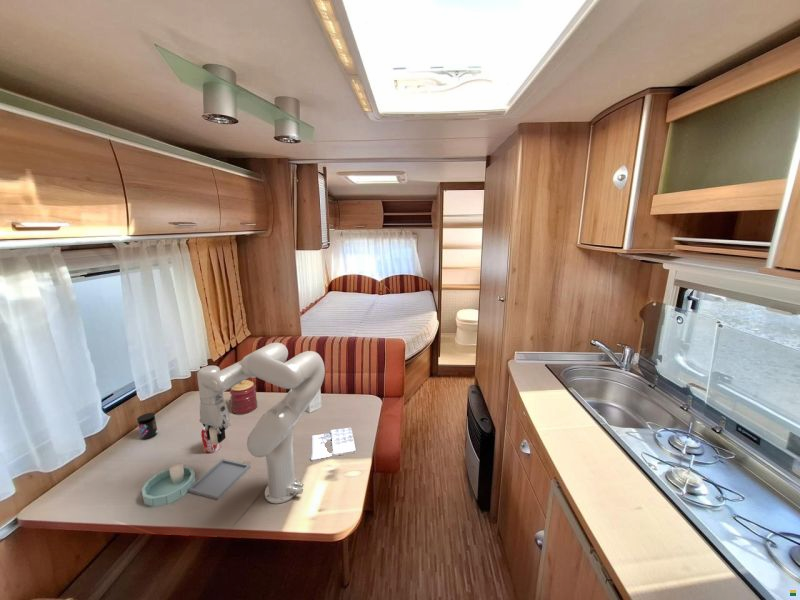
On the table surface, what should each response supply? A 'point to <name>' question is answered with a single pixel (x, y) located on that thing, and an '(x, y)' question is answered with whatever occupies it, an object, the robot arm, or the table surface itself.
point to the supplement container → (147, 426)
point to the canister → (243, 397)
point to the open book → (340, 443)
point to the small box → (315, 403)
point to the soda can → (208, 443)
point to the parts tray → (219, 479)
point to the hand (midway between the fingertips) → (216, 438)
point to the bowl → (166, 487)
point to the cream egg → (177, 473)
